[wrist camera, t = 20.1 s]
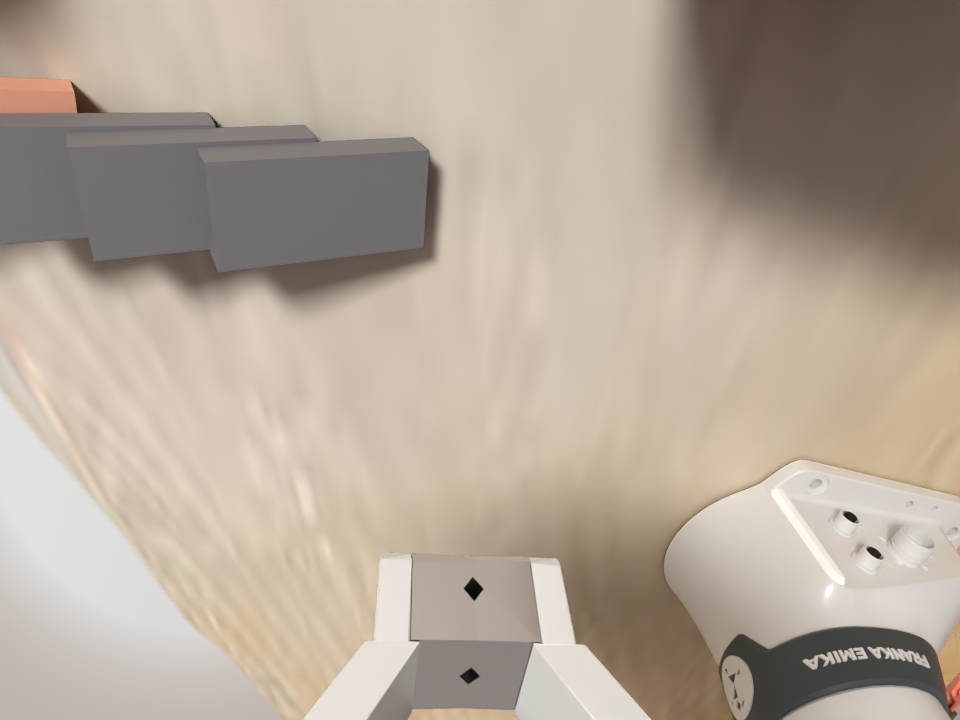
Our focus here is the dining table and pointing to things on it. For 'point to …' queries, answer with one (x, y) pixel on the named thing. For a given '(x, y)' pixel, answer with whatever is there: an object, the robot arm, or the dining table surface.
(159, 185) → the domino
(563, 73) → the dining table surface
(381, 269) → the dining table surface
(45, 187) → the domino
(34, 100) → the domino
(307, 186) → the domino
